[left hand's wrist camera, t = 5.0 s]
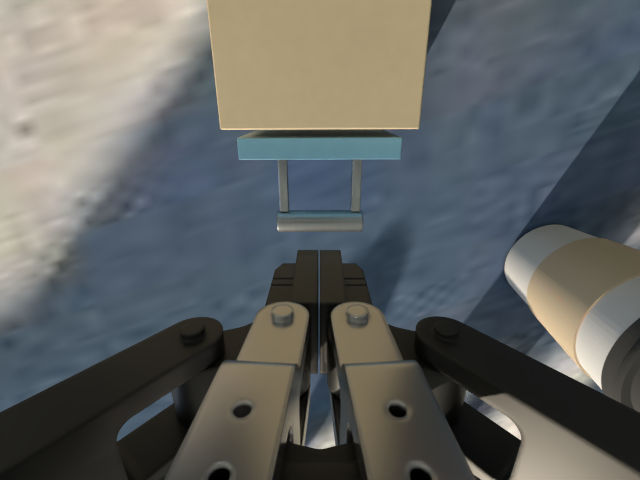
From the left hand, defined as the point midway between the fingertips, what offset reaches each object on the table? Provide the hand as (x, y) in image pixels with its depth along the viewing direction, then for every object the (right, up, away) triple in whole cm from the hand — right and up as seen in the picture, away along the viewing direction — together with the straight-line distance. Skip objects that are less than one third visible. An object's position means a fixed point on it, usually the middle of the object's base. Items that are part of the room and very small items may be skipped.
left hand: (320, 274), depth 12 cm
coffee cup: (+20, -1, +18) cm, 27 cm away
